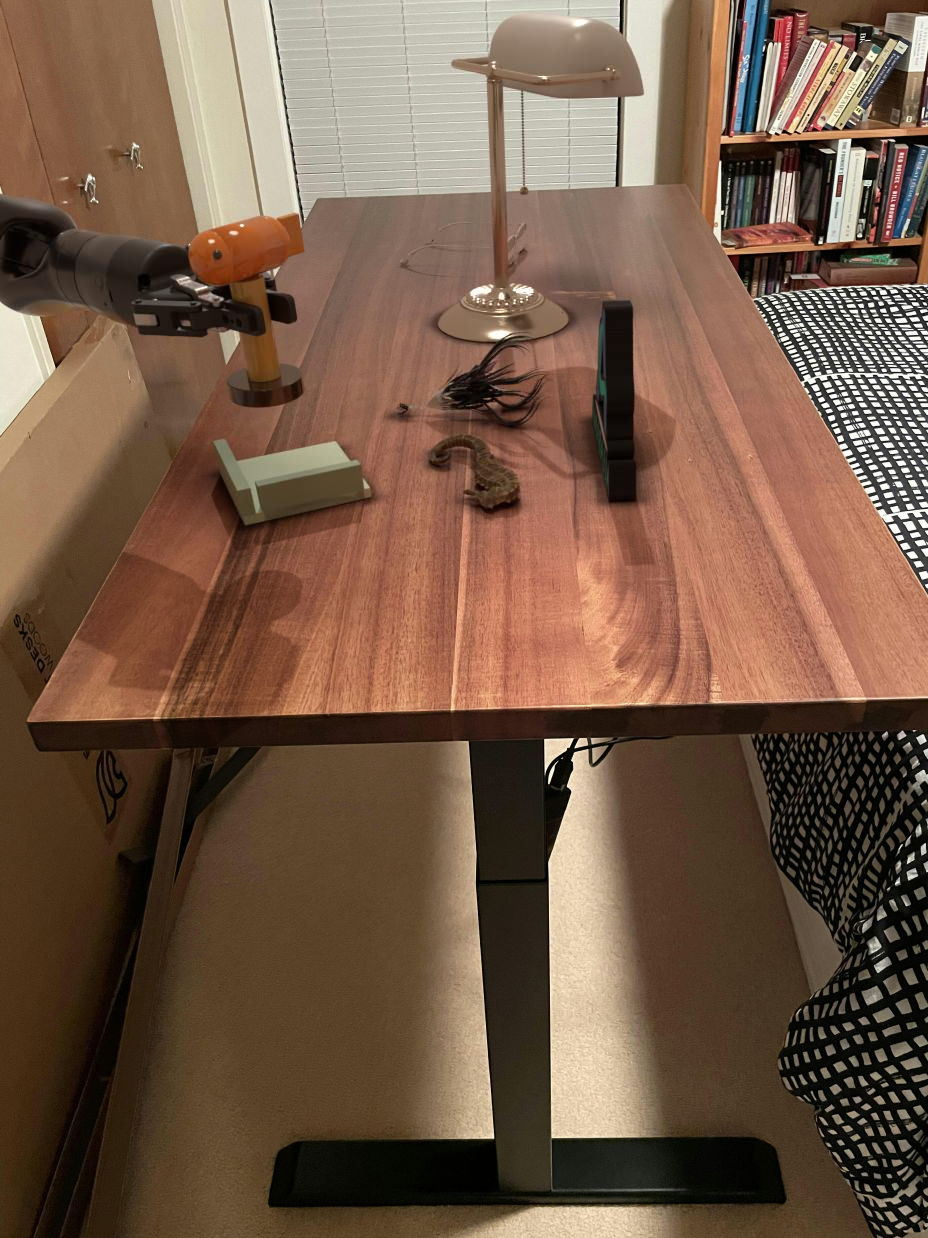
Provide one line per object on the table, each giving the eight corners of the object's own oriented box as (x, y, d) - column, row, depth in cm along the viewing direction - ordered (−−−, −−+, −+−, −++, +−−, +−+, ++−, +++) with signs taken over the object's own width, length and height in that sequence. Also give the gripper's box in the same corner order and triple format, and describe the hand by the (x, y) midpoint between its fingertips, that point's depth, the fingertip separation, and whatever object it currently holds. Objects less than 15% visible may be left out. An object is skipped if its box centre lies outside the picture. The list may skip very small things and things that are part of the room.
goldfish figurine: (294, 363, 89) (268, 201, 80) (345, 377, 86) (323, 210, 77) (201, 403, 82) (161, 231, 73) (252, 419, 79) (217, 241, 70)
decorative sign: (635, 501, 89) (644, 336, 79) (608, 502, 89) (614, 337, 79) (614, 419, 104) (619, 272, 94) (591, 420, 104) (594, 273, 94)
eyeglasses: (507, 270, 151) (506, 243, 148) (397, 266, 155) (394, 240, 152) (528, 245, 163) (528, 219, 160) (426, 242, 166) (424, 217, 164)
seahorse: (473, 441, 99) (471, 424, 98) (535, 502, 89) (533, 483, 88) (424, 457, 98) (421, 439, 97) (480, 520, 87) (477, 502, 86)
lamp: (651, 328, 127) (669, 15, 106) (482, 361, 119) (466, 31, 98) (558, 279, 146) (557, 6, 125) (407, 305, 138) (380, 19, 117)
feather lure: (559, 422, 100) (538, 342, 95) (399, 458, 105) (371, 385, 100) (565, 391, 107) (546, 315, 102) (414, 426, 112) (389, 356, 107)
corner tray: (245, 525, 87) (237, 490, 85) (220, 473, 96) (212, 440, 94) (371, 497, 91) (367, 462, 89) (337, 449, 100) (332, 417, 98)
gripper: (211, 305, 92) (343, 337, 84) (85, 349, 84) (219, 390, 75) (194, 221, 88) (332, 246, 80) (58, 258, 79) (197, 290, 71)
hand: (276, 316), depth 78 cm, fingers closed on goldfish figurine, 3 cm apart
